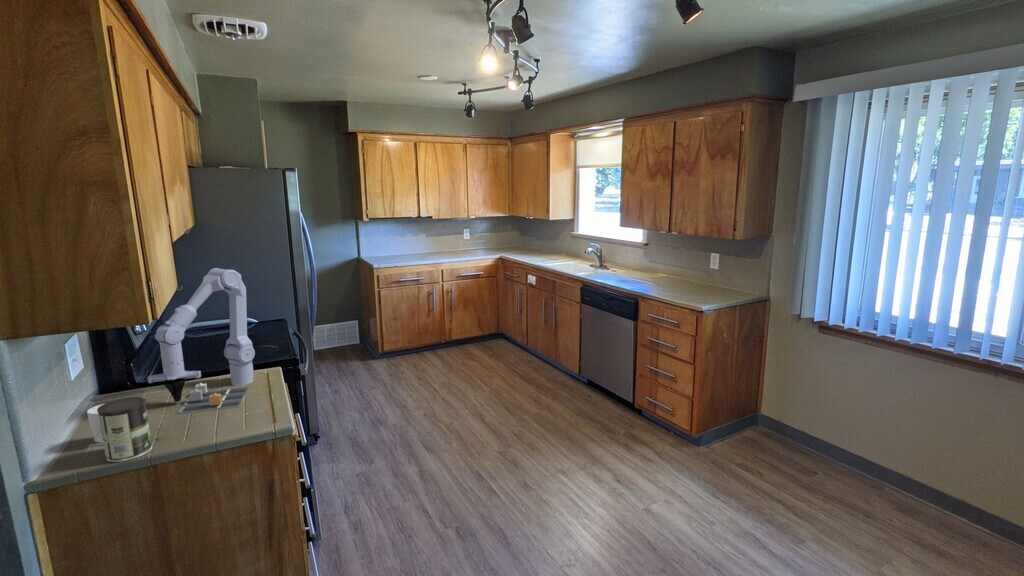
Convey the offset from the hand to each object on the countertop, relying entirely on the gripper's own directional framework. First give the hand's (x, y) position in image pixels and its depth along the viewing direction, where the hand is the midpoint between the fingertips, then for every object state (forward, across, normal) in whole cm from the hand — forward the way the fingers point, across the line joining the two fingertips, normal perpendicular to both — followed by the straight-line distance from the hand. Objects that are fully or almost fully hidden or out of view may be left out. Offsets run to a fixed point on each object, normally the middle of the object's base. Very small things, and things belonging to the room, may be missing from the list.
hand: (177, 400), depth 165 cm
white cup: (+3, -12, -20) cm, 24 cm away
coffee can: (+3, -4, -30) cm, 31 cm away
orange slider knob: (+1, +12, -6) cm, 14 cm away
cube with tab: (+1, +6, +6) cm, 8 cm away
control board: (+2, +10, 0) cm, 11 cm away
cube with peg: (+1, +6, 0) cm, 6 cm away
